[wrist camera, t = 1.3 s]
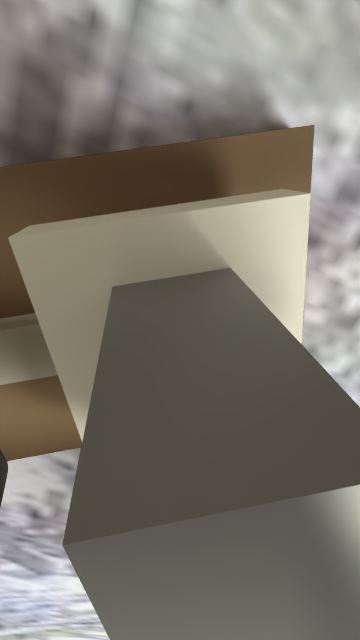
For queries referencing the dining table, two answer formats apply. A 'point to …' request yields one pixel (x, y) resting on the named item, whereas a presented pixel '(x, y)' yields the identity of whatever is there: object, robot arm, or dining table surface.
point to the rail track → (100, 199)
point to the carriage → (200, 422)
